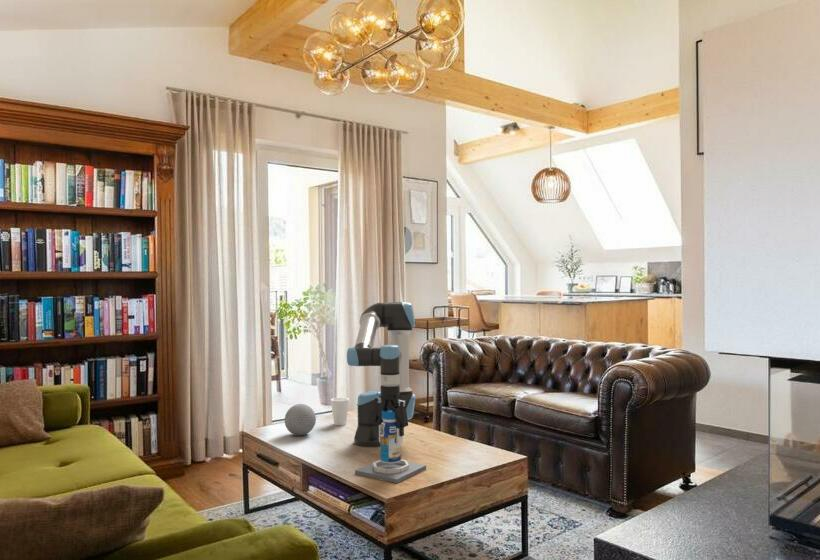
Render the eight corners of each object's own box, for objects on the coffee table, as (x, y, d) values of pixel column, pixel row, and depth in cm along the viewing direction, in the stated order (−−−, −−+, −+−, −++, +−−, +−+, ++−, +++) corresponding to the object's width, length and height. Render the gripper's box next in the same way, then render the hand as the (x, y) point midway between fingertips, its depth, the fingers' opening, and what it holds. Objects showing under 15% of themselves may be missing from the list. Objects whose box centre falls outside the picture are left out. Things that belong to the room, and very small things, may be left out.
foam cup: (328, 426, 312) (328, 400, 312) (334, 421, 321) (333, 397, 321) (346, 426, 311) (346, 401, 310) (351, 422, 320) (351, 397, 320)
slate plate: (354, 474, 235) (354, 466, 235) (385, 460, 252) (385, 453, 252) (396, 483, 224) (396, 475, 224) (426, 469, 240) (426, 461, 240)
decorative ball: (319, 431, 301) (319, 401, 301) (310, 439, 286) (310, 407, 286) (290, 430, 303) (290, 400, 303) (280, 438, 288) (279, 407, 288)
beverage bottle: (382, 457, 243) (381, 407, 243) (403, 458, 241) (402, 408, 241) (377, 464, 234) (377, 412, 234) (399, 464, 233) (398, 412, 233)
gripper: (363, 383, 241) (363, 441, 241) (406, 388, 229) (407, 449, 229) (374, 381, 247) (375, 436, 247) (417, 385, 235) (418, 444, 235)
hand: (390, 442), depth 238 cm, fingers closed on beverage bottle, 8 cm apart
